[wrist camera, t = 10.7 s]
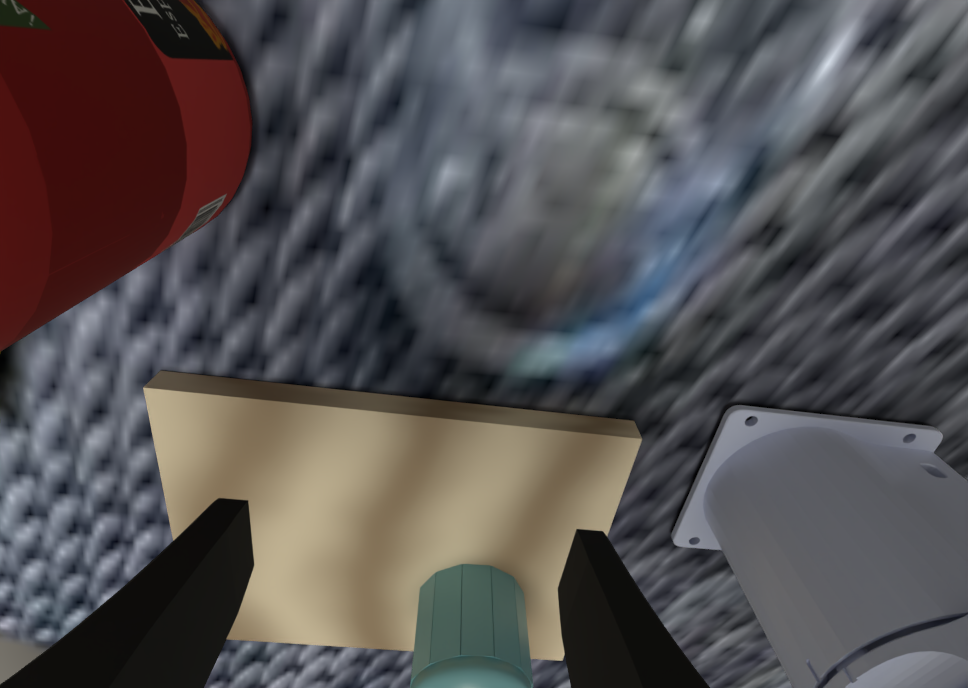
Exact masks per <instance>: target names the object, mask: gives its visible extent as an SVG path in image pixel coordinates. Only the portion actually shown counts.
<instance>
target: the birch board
mask: <svg viewBox="0 0 968 688" xmlns="http://www.w3.org/2000/svg"><path fill="white" fill-rule="evenodd" d="M143 389H144V394H145V399H146V404H147V409H148V414H149V419H150V424H151V429H152V434H153V439H154V445H155V450H156V455H157V460H158V465H159V470H160V475H161V480H162V485H163V490H164V496H165V501H166V506H167V511H168V516H169V521H170V526H171V531H172V536H173V541H174V540H175V539H176V538H177V537H178V536H179V535H180V534H181V533H182V532H183V531H184V530H185V529H186V528H187V527H188V526H189V525H190V524H191V523H192V522H193V521H194V520H195V519H196V518H198V517H199V516H200V515H201V514H202V513H203V512H204V511H205V510H206V509H207V508H208V507H209V506H210V505H211V504H212V503H213V502H214V501H215V500H217V499H218V498H227V499H238V500H248V503H249V513H250V524H251V534H252V545H253V556H254V568H253V571H252V574H251V577H250V580H249V583H248V586H247V589H246V592H245V595H244V598H243V601H242V604H241V607H240V609H239V612H238V615H237V617H236V619H235V622H234V624H233V626H232V628H231V630H230V632H229V635H228V637H227V639H232V640H247V641H263V642H278V643H294V644H310V645H325V646H341V647H357V648H372V649H388V650H403V651H414V644H415V634H416V623H417V613H418V603H419V593H420V587H421V586H422V585H423V584H424V583H425V582H426V581H427V580H428V579H429V578H430V577H431V576H432V575H433V574H434V573H435V572H437V571H441V570H444V569H447V568H450V567H453V566H456V565H460V564H475V565H491V566H493V567H495V568H497V569H499V570H501V571H503V572H505V573H507V574H509V575H512V576H513V577H514V578H515V579H516V581H517V583H518V584H519V586H520V588H521V589H522V591H523V593H524V599H525V609H526V619H527V629H528V639H529V649H530V659H544V660H559V661H562V660H563V657H564V654H565V652H564V647H563V641H562V635H561V624H560V614H559V600H558V586H559V582H560V579H561V576H562V573H563V570H564V567H565V564H566V560H567V557H568V554H569V551H570V548H571V545H572V542H573V539H574V535H575V532H576V529H584V530H596V531H603V532H604V533H605V534H606V536H607V535H608V532H609V530H610V527H611V524H612V521H613V519H614V516H615V513H616V510H617V507H618V505H619V502H620V499H621V496H622V494H623V491H624V488H625V485H626V483H627V480H628V477H629V474H630V471H631V469H632V466H633V463H634V460H635V458H636V455H637V452H638V449H639V447H640V444H641V441H642V438H641V435H640V433H639V431H638V429H637V427H636V424H635V422H634V421H630V420H621V419H612V418H602V417H593V416H583V415H574V414H564V413H555V412H546V411H536V410H527V409H517V408H508V407H499V406H489V405H480V404H470V403H461V402H451V401H442V400H433V399H423V398H414V397H404V396H395V395H386V394H376V393H367V392H357V391H348V390H338V389H329V388H320V387H310V386H301V385H291V384H282V383H273V382H263V381H254V380H244V379H235V378H225V377H216V376H207V375H197V374H188V373H178V372H169V371H160V372H159V373H158V374H157V375H156V376H155V377H154V378H153V379H152V380H151V381H149V382H148V383H147V384H146V385H145V386H144V387H143Z"/></svg>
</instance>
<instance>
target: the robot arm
mask: <svg viewBox="0 0 968 688" xmlns="http://www.w3.org/2000/svg"><path fill="white" fill-rule="evenodd" d="M750 416H753V417H752V418H751V419H749V420H747V421H745V420H746V419H747V418H748V417H750ZM942 439H943V434H942V433H941V432H940V431H939V430H938V429H936V428H935V427H932V426H925V425H916V424H907V423H898V422H889V421H880V420H871V419H862V418H853V417H844V416H835V415H826V414H817V413H808V412H799V411H790V410H781V409H772V408H763V407H754V406H745V405H735V406H732V407H730V408H729V409H728V410H727V411H726V412H725V414H724V416H723V418H722V420H721V422H720V425H719V427H718V429H717V432H716V434H715V436H714V438H713V441H712V443H711V445H710V447H709V450H708V452H707V454H706V456H705V459H704V461H703V463H702V465H701V468H700V470H699V472H698V475H697V477H696V479H695V481H694V484H693V486H692V488H691V490H690V493H689V495H688V497H687V499H686V502H685V504H684V506H683V508H682V511H681V513H680V515H679V518H678V520H677V522H676V524H675V527H674V529H673V531H672V533H671V537H672V540H673V542H674V544H675V545H676V546H680V547H690V548H701V549H713V550H722V551H723V553H724V555H725V557H726V559H727V561H728V563H729V565H730V567H731V568H732V570H733V572H734V574H735V576H736V578H737V580H738V582H739V584H740V586H741V588H742V590H743V592H744V594H745V596H746V598H747V599H748V601H749V603H750V605H751V607H752V609H753V611H754V613H755V615H756V617H757V619H758V621H759V623H760V625H761V627H762V628H763V630H764V632H765V634H766V636H767V638H768V640H769V642H770V644H771V646H772V648H773V650H774V652H775V654H776V656H777V658H778V659H779V661H780V663H781V665H782V667H783V669H784V671H785V673H786V675H787V677H788V679H789V681H790V683H791V685H792V687H793V688H968V481H967V480H966V479H964V478H963V477H962V476H961V475H960V474H958V473H957V472H956V471H955V470H954V469H952V468H951V467H950V466H949V465H948V464H946V463H945V462H944V461H943V460H942V459H941V458H939V457H938V456H937V455H936V454H935V453H934V451H935V450H936V448H937V447H938V445H939V444H940V443H941V441H942ZM253 568H254V556H253V545H252V534H251V524H250V513H249V503H248V500H238V499H227V498H218V499H217V500H215V501H214V502H213V503H212V504H211V505H210V506H209V507H208V508H207V509H206V510H205V511H204V512H203V513H202V514H201V515H200V516H199V517H198V518H196V519H195V520H194V521H193V522H192V523H191V524H190V525H189V526H188V527H187V528H186V529H185V530H184V531H183V532H182V533H181V534H180V535H179V536H178V537H177V538H176V539H175V540H174V541H173V542H172V543H171V544H170V545H169V546H167V547H166V548H165V549H164V550H163V551H162V552H161V553H160V554H159V555H158V556H157V557H156V558H155V559H153V560H152V561H151V562H150V563H149V564H148V565H147V566H146V567H145V568H144V569H143V570H141V571H140V572H139V573H138V574H137V575H136V576H135V577H134V578H133V579H132V580H130V581H129V582H128V583H127V584H126V585H125V586H124V587H123V588H121V589H120V590H119V591H118V592H117V593H116V594H114V595H113V596H112V597H111V598H110V599H108V600H107V601H106V602H105V603H104V604H103V605H101V606H100V607H99V608H98V609H97V610H95V611H94V612H93V613H92V614H91V615H90V616H88V617H87V618H86V619H85V620H84V621H82V622H81V623H80V624H79V625H78V626H76V627H75V628H74V629H73V630H71V631H70V632H69V633H68V634H66V635H65V636H64V637H63V638H61V639H60V640H59V641H58V642H56V643H55V644H54V645H52V646H51V647H50V648H49V649H47V650H46V651H45V652H43V653H42V654H41V655H40V656H38V657H37V658H36V659H34V660H33V661H32V662H30V663H29V664H28V665H26V666H25V667H24V668H22V669H21V670H20V671H18V672H17V673H16V674H14V675H13V676H11V677H10V678H9V679H7V680H6V681H5V682H3V683H2V684H0V688H204V686H205V684H206V682H207V680H208V678H209V675H210V673H211V671H212V669H213V667H214V665H215V663H216V661H217V658H218V656H219V654H220V652H221V650H222V648H223V645H224V643H225V641H226V639H227V637H228V635H229V632H230V630H231V628H232V626H233V624H234V622H235V619H236V617H237V615H238V612H239V609H240V607H241V604H242V601H243V598H244V595H245V592H246V589H247V586H248V583H249V580H250V577H251V574H252V571H253ZM558 600H559V614H560V624H561V635H562V641H563V647H564V652H565V657H566V662H567V668H568V673H569V678H570V683H571V688H710V687H709V686H708V685H707V683H706V682H705V681H704V679H703V678H702V677H701V676H700V674H699V673H698V672H697V670H696V669H695V668H694V666H693V665H692V664H691V662H690V661H689V660H688V658H687V657H686V656H685V654H684V653H683V652H682V650H681V649H680V648H679V646H678V645H677V644H676V642H675V641H674V639H673V638H672V637H671V635H670V634H669V632H668V631H667V629H666V628H665V627H664V625H663V624H662V622H661V621H660V619H659V618H658V616H657V615H656V613H655V612H654V610H653V609H652V607H651V606H650V604H649V603H648V602H647V600H646V598H645V597H644V595H643V594H642V592H641V591H640V589H639V588H638V586H637V585H636V583H635V581H634V580H633V578H632V577H631V575H630V573H629V572H628V570H627V569H626V567H625V565H624V564H623V562H622V561H621V559H620V557H619V556H618V554H617V552H616V551H615V549H614V547H613V546H612V544H611V542H610V541H609V539H608V538H607V536H606V534H605V533H604V532H603V531H596V530H584V529H576V532H575V535H574V539H573V542H572V545H571V548H570V551H569V554H568V557H567V560H566V564H565V567H564V570H563V573H562V576H561V579H560V582H559V586H558Z"/></svg>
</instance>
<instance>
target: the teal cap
mask: <svg viewBox="0 0 968 688" xmlns="http://www.w3.org/2000/svg"><path fill="white" fill-rule="evenodd" d="M410 688H533V679H532V669H531V659H530V649H529V639H528V629H527V619H526V609H525V599H524V593H523V591H522V589H521V588H520V586H519V584H518V583H517V581H516V579H515V578H514V577H513V576H512V575H509V574H507V573H505V572H503V571H501V570H499V569H497V568H495V567H493V566H491V565H475V564H460V565H456V566H453V567H450V568H447V569H444V570H441V571H437V572H435V573H434V574H433V575H432V576H431V577H430V578H429V579H428V580H427V581H426V582H425V583H424V584H423V585H422V586H421V587H420V593H419V603H418V613H417V623H416V634H415V644H414V654H413V664H412V674H411V685H410Z"/></svg>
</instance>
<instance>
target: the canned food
mask: <svg viewBox="0 0 968 688" xmlns="http://www.w3.org/2000/svg"><path fill="white" fill-rule="evenodd" d="M251 138H252V117H251V109H250V101H249V95H248V92H247V89H246V86H245V82H244V79H243V76H242V73H241V70H240V67H239V65H238V63H237V61H236V59H235V57H234V55H233V53H232V51H231V49H230V47H229V45H228V43H227V42H226V40H225V39H224V37H223V36H222V35H221V33H220V32H219V30H218V29H217V27H216V26H215V25H214V23H213V22H212V20H211V19H210V18H209V16H208V15H207V14H206V13H205V12H204V11H203V9H202V8H201V7H200V6H199V5H198V4H197V3H196V2H195V1H194V0H0V351H2V350H4V349H5V348H7V347H9V346H10V345H12V344H13V343H15V342H17V341H18V340H20V339H22V338H23V337H25V336H26V335H28V334H30V333H31V332H33V331H35V330H36V329H38V328H39V327H41V326H43V325H44V324H46V323H48V322H49V321H51V320H52V319H54V318H56V317H57V316H59V315H60V314H62V313H64V312H65V311H67V310H69V309H70V308H72V307H73V306H75V305H77V304H78V303H80V302H82V301H83V300H85V299H86V298H88V297H90V296H91V295H93V294H95V293H96V292H98V291H99V290H101V289H103V288H104V287H106V286H108V285H109V284H111V283H112V282H114V281H116V280H117V279H119V278H121V277H122V276H124V275H125V274H127V273H129V272H130V271H132V270H134V269H135V268H137V267H138V266H140V265H142V264H143V263H145V262H147V261H148V260H150V259H151V258H153V257H155V256H156V255H158V254H159V253H161V252H163V251H164V250H166V249H168V248H169V247H171V246H172V245H174V244H176V243H177V242H179V241H181V240H182V239H184V238H185V237H187V236H189V235H190V234H192V233H194V232H195V231H197V230H198V229H200V228H201V227H203V226H204V225H206V224H207V223H208V222H210V221H211V220H212V219H214V218H215V217H217V216H218V215H219V214H220V212H221V211H222V210H223V209H224V208H225V206H226V205H227V204H228V203H229V202H230V201H231V199H232V198H233V196H234V194H235V192H236V190H237V188H238V186H239V184H240V182H241V180H242V178H243V175H244V172H245V169H246V165H247V161H248V157H249V153H250V149H251Z"/></svg>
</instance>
